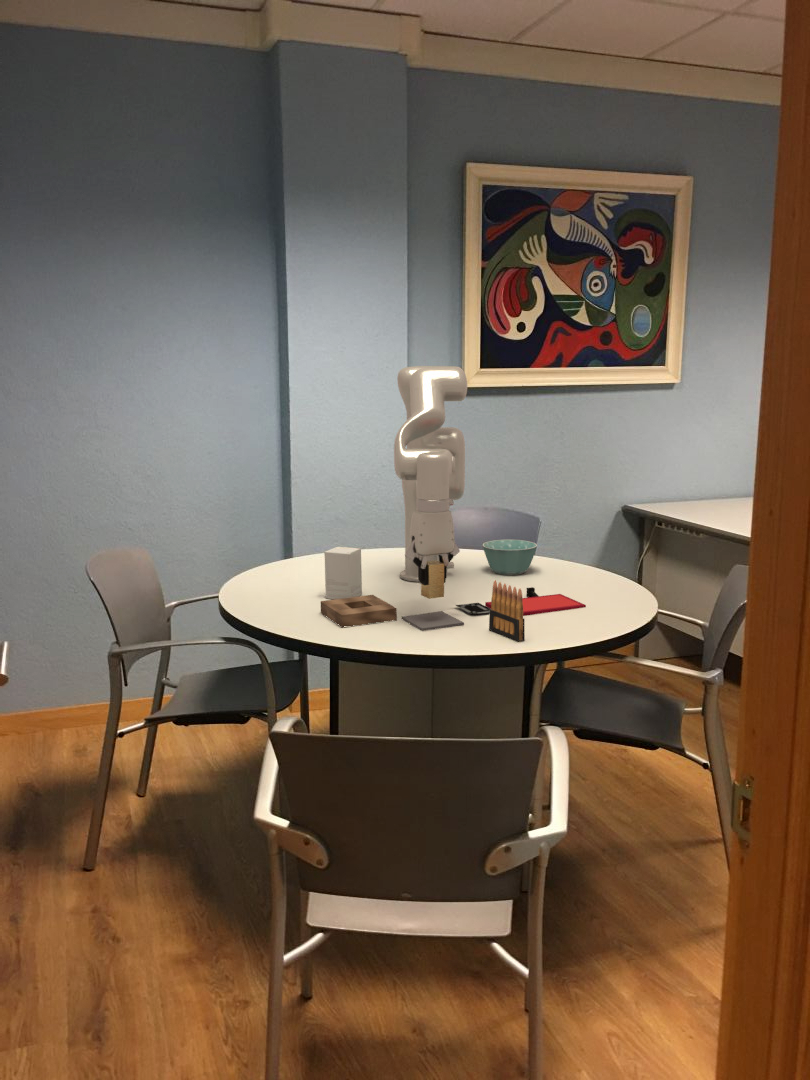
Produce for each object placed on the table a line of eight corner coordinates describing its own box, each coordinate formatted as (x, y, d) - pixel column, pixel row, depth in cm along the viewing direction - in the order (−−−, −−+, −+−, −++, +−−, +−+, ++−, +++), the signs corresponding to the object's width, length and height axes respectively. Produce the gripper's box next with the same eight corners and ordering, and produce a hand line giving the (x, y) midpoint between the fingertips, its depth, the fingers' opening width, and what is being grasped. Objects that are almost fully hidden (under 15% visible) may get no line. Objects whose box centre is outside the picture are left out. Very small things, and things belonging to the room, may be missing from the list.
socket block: (372, 606, 233) (372, 594, 233) (396, 620, 221) (396, 608, 220) (320, 612, 227) (320, 601, 227) (342, 627, 215) (341, 615, 214)
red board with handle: (451, 606, 233) (481, 623, 219) (452, 596, 232) (481, 611, 219) (551, 595, 245) (585, 610, 232) (552, 585, 245) (586, 599, 231)
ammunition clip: (488, 630, 213) (489, 579, 210) (495, 629, 214) (495, 578, 211) (518, 642, 204) (519, 589, 201) (524, 641, 205) (526, 588, 202)
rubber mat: (441, 613, 227) (441, 611, 226) (463, 624, 217) (463, 622, 217) (401, 618, 222) (401, 616, 222) (422, 630, 212) (422, 628, 212)
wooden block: (436, 593, 220) (436, 560, 219) (444, 596, 217) (444, 563, 215) (421, 595, 219) (421, 561, 217) (428, 598, 215) (428, 565, 214)
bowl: (471, 572, 269) (471, 544, 267) (502, 563, 281) (502, 536, 279) (516, 580, 259) (517, 552, 257) (546, 571, 271) (547, 543, 269)
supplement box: (362, 595, 244) (362, 548, 242) (349, 601, 238) (348, 553, 235) (338, 592, 247) (337, 545, 245) (324, 598, 241) (323, 551, 238)
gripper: (456, 501, 221) (455, 576, 224) (393, 506, 214) (393, 583, 217) (472, 505, 214) (471, 582, 218) (407, 510, 207) (407, 590, 210)
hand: (432, 582), depth 217 cm, fingers closed on wooden block, 4 cm apart
